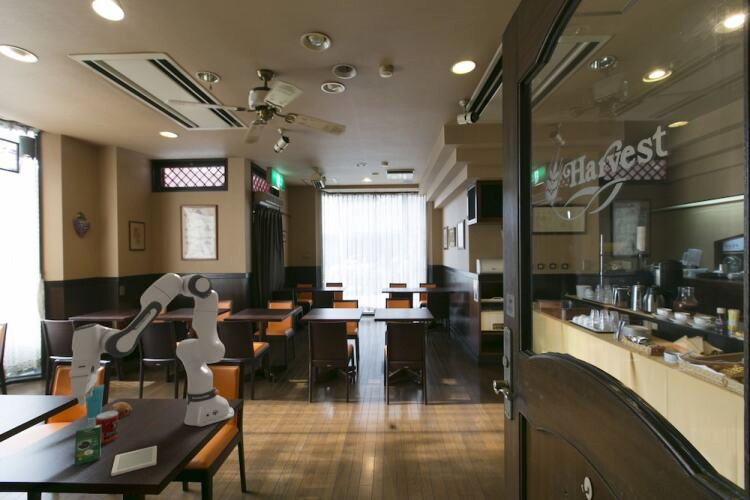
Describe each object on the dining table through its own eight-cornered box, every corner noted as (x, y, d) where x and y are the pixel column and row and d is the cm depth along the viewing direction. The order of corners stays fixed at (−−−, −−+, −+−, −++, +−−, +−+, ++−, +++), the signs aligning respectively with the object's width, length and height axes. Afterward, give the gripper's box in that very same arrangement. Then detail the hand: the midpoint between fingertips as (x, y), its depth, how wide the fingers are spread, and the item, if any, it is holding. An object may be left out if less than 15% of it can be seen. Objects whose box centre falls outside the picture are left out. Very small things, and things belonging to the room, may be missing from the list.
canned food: (106, 444, 150) (106, 418, 151) (91, 443, 152) (91, 417, 152) (122, 436, 158) (122, 411, 158) (107, 434, 159) (108, 409, 160)
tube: (103, 422, 171) (103, 383, 171) (104, 426, 167) (104, 385, 168) (83, 428, 166) (83, 386, 166) (84, 431, 162) (84, 389, 163)
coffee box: (101, 456, 142) (102, 423, 142) (100, 459, 139) (101, 426, 139) (75, 462, 137) (76, 428, 138) (74, 466, 135) (74, 431, 135)
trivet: (156, 447, 147) (157, 445, 147) (156, 464, 135) (156, 461, 135) (115, 457, 140) (115, 455, 140) (111, 476, 128) (111, 473, 128)
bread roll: (122, 417, 185) (116, 403, 186) (138, 409, 184) (132, 395, 185) (105, 426, 175) (99, 411, 176) (122, 418, 174) (116, 403, 175)
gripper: (83, 360, 148) (83, 393, 147) (67, 374, 129) (66, 412, 129) (102, 358, 150) (102, 390, 150) (89, 371, 132) (88, 408, 132)
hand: (85, 400), depth 139 cm, fingers open, 8 cm apart
